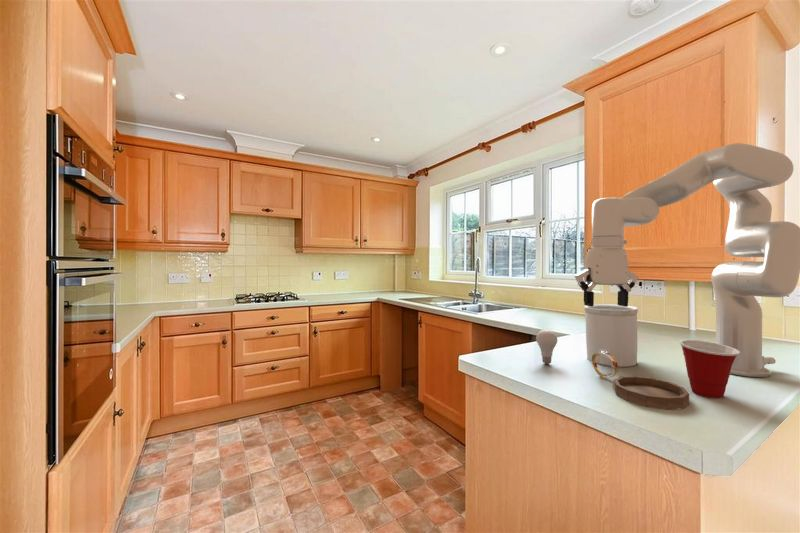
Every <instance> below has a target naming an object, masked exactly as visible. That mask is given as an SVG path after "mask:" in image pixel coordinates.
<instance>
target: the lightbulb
mask: <svg viewBox="0 0 800 533" xmlns="http://www.w3.org/2000/svg"><path fill="white" fill-rule="evenodd" d="M535 340H536V343H537V345H538V346H539V349H540V353H541V360H542V363H543V364H545V365H549V364H552V357H553V352H554V350H555V347H556V346H557V344H558V336H557V334H556V333H555V332H554V331H553V330H550V329H542V330H540V331H538V333H536V337H535Z"/></svg>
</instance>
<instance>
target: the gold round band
mask: <svg viewBox="0 0 800 533" xmlns="http://www.w3.org/2000/svg"><path fill="white" fill-rule="evenodd" d="M599 350H600V352H597V353H596V354H594V355H593V356H592V361H591V364H592V367H593V369H594V371H595V373H596V374H597V375H598V376H600V377H601V378H602V379H611V378H613V377H614V376H615V375H616V374H617V371H618V367H617V361H616V359H615V358H614V357H613V356H612V355H611V353H610V352H609V351H608V350H606V349H605V350H601V349H599ZM599 355H604V356H606V357H607V358H609V360H610V361H611V364H612V366H611V368H612V369H611V373H610V374H609V375H607V374H606V373H602V372H601V370H600V369H599V367H598V363H597V358H598V356H599Z"/></svg>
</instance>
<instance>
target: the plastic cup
mask: <svg viewBox="0 0 800 533" xmlns="http://www.w3.org/2000/svg"><path fill="white" fill-rule="evenodd" d="M679 345H680V346H681V349H682V353H683V356H684V363H685V367H686V374H687V378H688V381H689V385H690V389H691V391H692V393H693V394H695V395H698V396H701V397H704V398H711V399H722V398H724V396H725V393H726V388H727V385H728V382H729V380H730V375H731V374H730V371H731V367H732V364H733V362H734V360H735V357H736V356H737V355H739V353H740V351H738V350H737V349H734V348H732V347H729V346H725V345H721V344H717V343H716V342H712V341H711V342H710V341H707V340H705V341H704V340H696V339H683V340H682V339H681V340H680V341H679Z"/></svg>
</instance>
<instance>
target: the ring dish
mask: <svg viewBox="0 0 800 533" xmlns="http://www.w3.org/2000/svg"><path fill="white" fill-rule="evenodd" d="M686 389H687V388H685V387H683V386H681V385H678V384H676V383H673V382H671V381H668V380H663V379H659V378H655V377H654V378H653V377H650V376H649V377H647V376H637V375H627V376H625V375H624V376H618V377H616V378H614V379H613V390H614V392H615V395H616V396H618V397H620V398H621V399H623V400H625V401H627V402H629V403H633V404H636V405H639V406H643V407H646V408H653V409H654V408H655V409H661V410H670V411H671V410H683V409H685V408H687V407H688V406H689V405H690V392H688V390H686Z"/></svg>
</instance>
